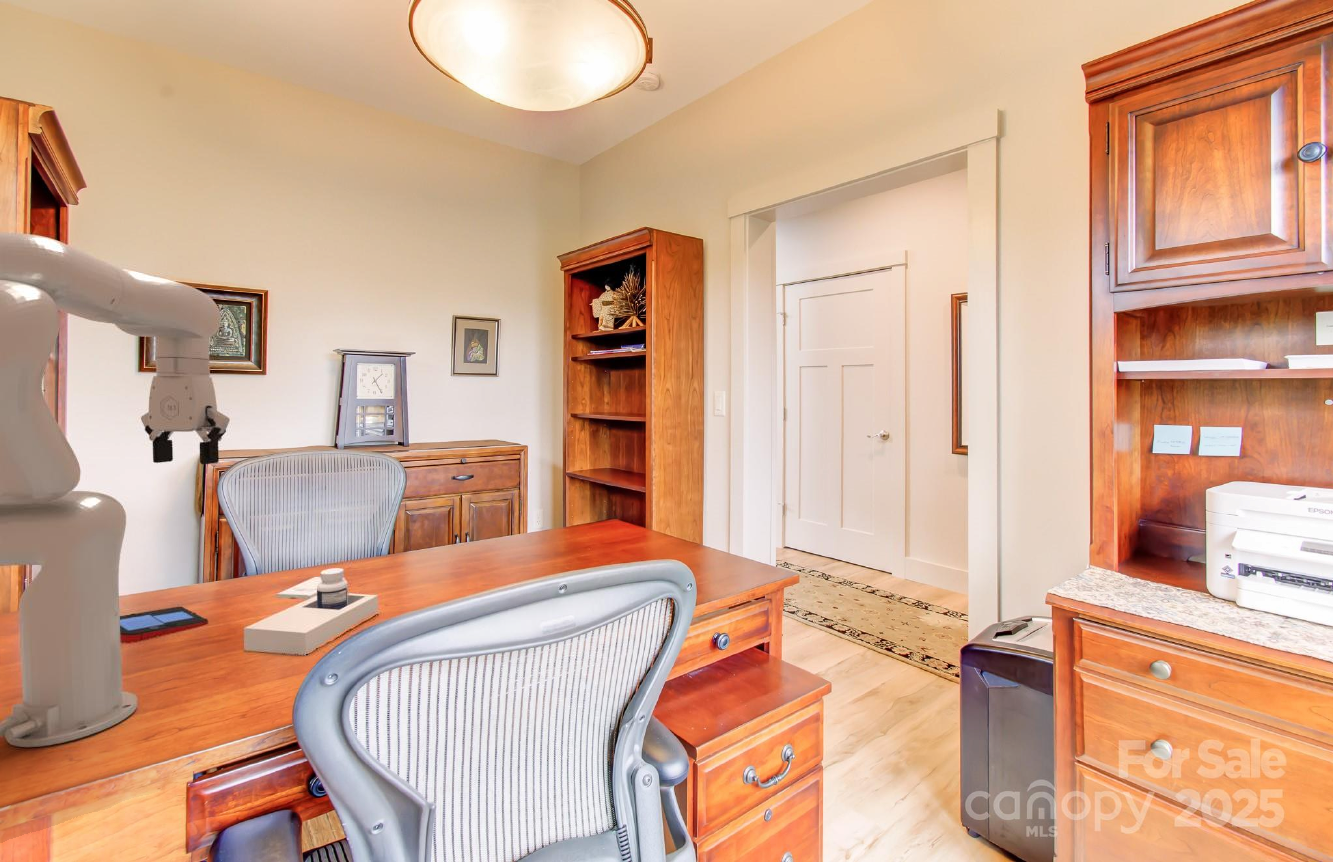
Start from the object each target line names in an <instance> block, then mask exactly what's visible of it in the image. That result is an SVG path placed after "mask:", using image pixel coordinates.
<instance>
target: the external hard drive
mask: <svg viewBox="0 0 1333 862" xmlns="http://www.w3.org/2000/svg"><path fill="white" fill-rule="evenodd" d="M342 579H345V580H346V578H345V577H343V578H342ZM346 581H347V580H346ZM320 582H322V580H321V576H314V577H312V578H309V579H307V580H305V581H302V582H301V583H299V584H296V585H294V586H292V587H289V588H287V589H285V590H283V591H281V592H278V593H276V594H275V598H276V597H281V598H280V599H296V598H302V599H301V600H308V599H310V598H312V597H315V596H317V586H318V584H319V583H320ZM282 597H283V598H282ZM284 597H285V598H284Z"/></svg>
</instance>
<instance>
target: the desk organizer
mask: <svg viewBox="0 0 1333 862" xmlns="http://www.w3.org/2000/svg"><path fill="white" fill-rule="evenodd" d="M376 612H378V613H379V595H377V594H366V593H365V594H364V593H350V592H348V606H346V607H344V608H342V609H340V610H333V609H319V608H317V596H315V597H312V598H310V599H305V600H304V601H302V602H298V603H297V604H295V605H292V606H291V607H287V608H286V609H283V610H282V611H279V612H277V613H275V614H272V615H270V616H268V617H266V618H264V619H261V620H259V621H257V622H254V623H253V624H252V623H251V625H248V626H245V627H244V628H243V636H244V637H243V639H244V640H243V644H244V647H243V648H244V649H243V650H244V651H247V652H249V651H250V652H260V653H270V654H282V653H283V655H295V654H296V656H307V655H306V654H307V653H309V652H310V651H312V650H313V649H316V648H317V647H318V646H320V645H321V644H323V643H325V642H327V641H328V640H330V639H331V638H332V637H334V636H337V635H339V634H340V633H341V632H344V631H345V630H346V629H348V628H349V627H352V626H353V625H354V624H357V623H358V622H359V621H361V620H362V619H365V618H367V617H369V616H371V615H372V614H375V613H376ZM284 653H285V654H284ZM297 654H298V655H297ZM303 654H304V655H303Z"/></svg>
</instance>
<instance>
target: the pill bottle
mask: <svg viewBox="0 0 1333 862" xmlns="http://www.w3.org/2000/svg"><path fill="white" fill-rule="evenodd" d="M344 573H345V572H344V568H339V567H335V568H334V567H333V568H328V569H324V570H322V571H321V572H320V577H321V580H322V582H320V583H319V584H318V586H317V608H319V609H333V610H340V609H342V608H344V607H346V606H348V593H349V585H348V581H347V580H345V579H346V578H345V577H344V576H345V574H344ZM342 578H345V579H342Z"/></svg>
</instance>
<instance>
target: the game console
mask: <svg viewBox="0 0 1333 862" xmlns="http://www.w3.org/2000/svg"><path fill="white" fill-rule="evenodd" d="M205 625H209V620H208V619H207V618H205V617H202V616H201V615H199V614H197V613H195V612H192V611H191V610H190V609H187V608H185V607H183V606H174V607H173V606H172V607H167V608H161V609H154V610H149V611H144V612H138V613H131V614H125V615H120V639H121V643H122V642H126V643H125V644H130V643H131V642H134V643H138V641H140V642H141V640H143V641H146V639H147V640H149V638H151V639H154V637H155V638H158V637H157V636H159V637H163V636H166V635H165V634H167V635H170V633H171V634H175V633H178V631H179V632H182V631H187V630H190V629H194V628H198V627H202V626H205ZM186 629H187V630H186ZM162 635H163V636H162ZM131 644H132V643H131Z"/></svg>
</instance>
